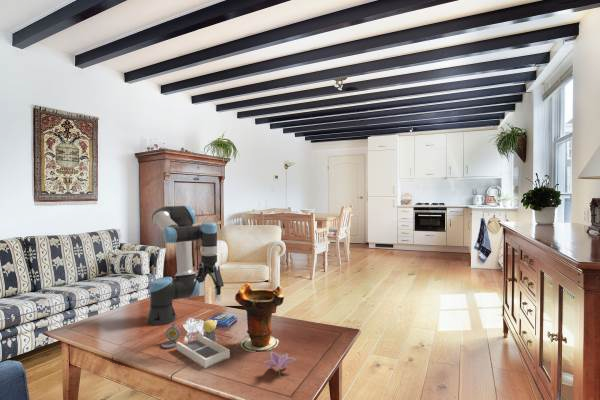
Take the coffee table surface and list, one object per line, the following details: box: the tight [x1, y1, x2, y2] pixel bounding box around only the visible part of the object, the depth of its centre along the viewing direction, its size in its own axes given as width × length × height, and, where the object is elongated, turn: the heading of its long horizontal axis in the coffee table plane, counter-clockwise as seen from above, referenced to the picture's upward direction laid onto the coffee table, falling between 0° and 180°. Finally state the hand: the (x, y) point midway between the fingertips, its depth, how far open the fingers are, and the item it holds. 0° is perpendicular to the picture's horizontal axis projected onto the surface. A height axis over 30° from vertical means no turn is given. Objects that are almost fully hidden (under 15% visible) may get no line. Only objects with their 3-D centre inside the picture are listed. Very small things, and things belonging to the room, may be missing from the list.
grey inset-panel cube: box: [203, 330, 216, 341], centre depth 163 cm, size 4×4×4 cm
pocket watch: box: [161, 322, 181, 349], centre depth 158 cm, size 8×8×10 cm
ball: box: [202, 319, 217, 333], centre depth 163 cm, size 6×6×6 cm
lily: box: [262, 351, 297, 379], centre depth 132 cm, size 12×12×10 cm
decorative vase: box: [234, 282, 285, 353], centre depth 159 cm, size 21×23×28 cm
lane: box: [175, 333, 231, 369], centre depth 149 cm, size 24×12×4 cm, turn 48°
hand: (209, 298), depth 162 cm, fingers open, 13 cm apart
